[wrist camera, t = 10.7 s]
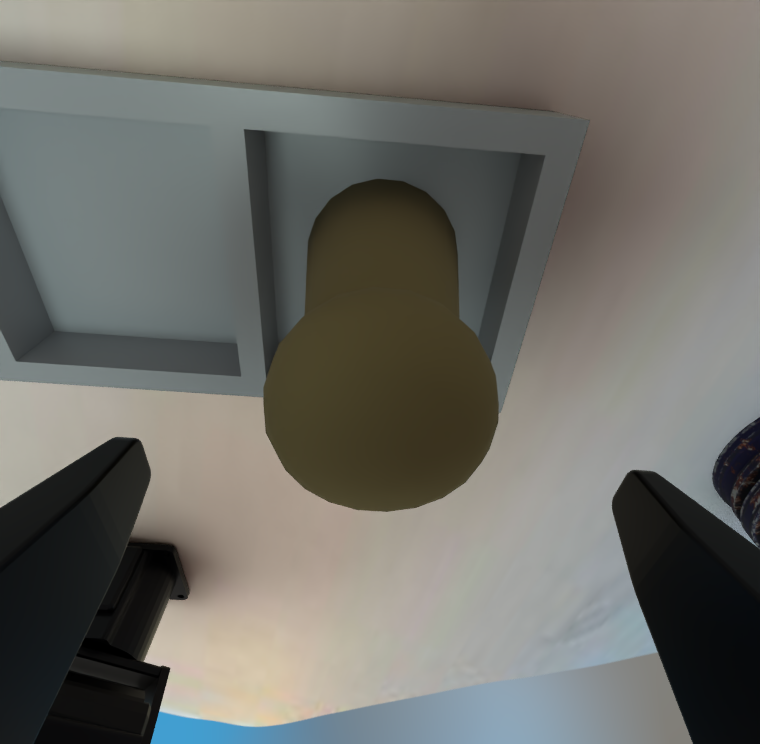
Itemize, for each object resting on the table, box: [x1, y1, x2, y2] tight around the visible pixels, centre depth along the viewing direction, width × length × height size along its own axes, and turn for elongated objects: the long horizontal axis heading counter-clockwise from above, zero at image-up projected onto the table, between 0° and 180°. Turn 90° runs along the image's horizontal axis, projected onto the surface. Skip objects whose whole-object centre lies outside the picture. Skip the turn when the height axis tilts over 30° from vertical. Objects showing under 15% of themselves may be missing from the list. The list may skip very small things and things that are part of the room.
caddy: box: [0, 61, 590, 413], centre depth 17 cm, size 11×21×4 cm, turn 86°
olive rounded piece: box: [263, 179, 499, 512], centre depth 13 cm, size 6×6×11 cm
